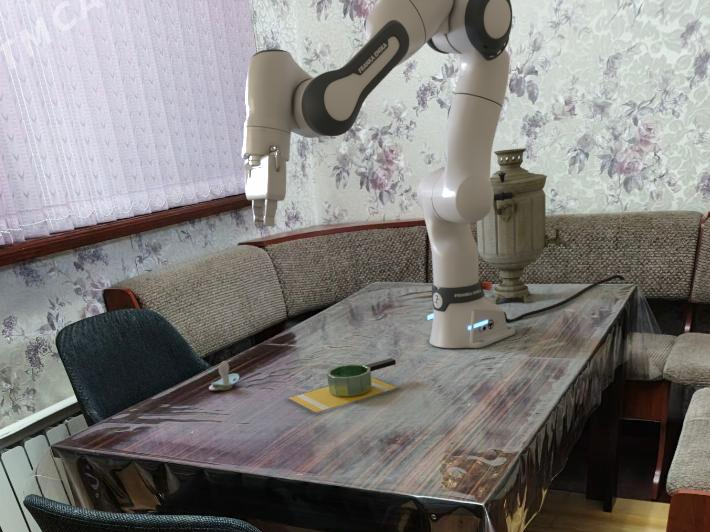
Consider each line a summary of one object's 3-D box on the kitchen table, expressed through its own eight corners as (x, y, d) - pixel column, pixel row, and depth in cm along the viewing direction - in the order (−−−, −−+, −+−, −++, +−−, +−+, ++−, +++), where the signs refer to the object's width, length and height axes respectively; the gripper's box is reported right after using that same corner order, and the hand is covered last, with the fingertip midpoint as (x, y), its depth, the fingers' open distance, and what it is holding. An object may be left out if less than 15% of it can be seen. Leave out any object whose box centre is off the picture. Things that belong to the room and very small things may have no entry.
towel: (367, 377, 160) (366, 375, 160) (397, 389, 151) (397, 387, 151) (289, 400, 151) (288, 397, 151) (316, 414, 142) (316, 412, 142)
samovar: (542, 314, 195) (547, 151, 175) (457, 309, 208) (453, 156, 188) (577, 290, 217) (586, 142, 196) (498, 287, 229) (499, 147, 209)
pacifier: (203, 392, 161) (224, 394, 158) (197, 365, 158) (218, 366, 155) (223, 382, 166) (244, 383, 163) (217, 356, 163) (238, 356, 160)
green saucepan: (382, 373, 160) (381, 354, 158) (406, 382, 154) (405, 362, 151) (322, 390, 153) (319, 371, 151) (344, 401, 146) (342, 381, 144)
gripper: (296, 146, 129) (291, 228, 134) (270, 154, 146) (267, 226, 151) (262, 140, 126) (258, 224, 131) (240, 149, 144) (237, 223, 149)
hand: (263, 225), depth 141 cm, fingers open, 8 cm apart
